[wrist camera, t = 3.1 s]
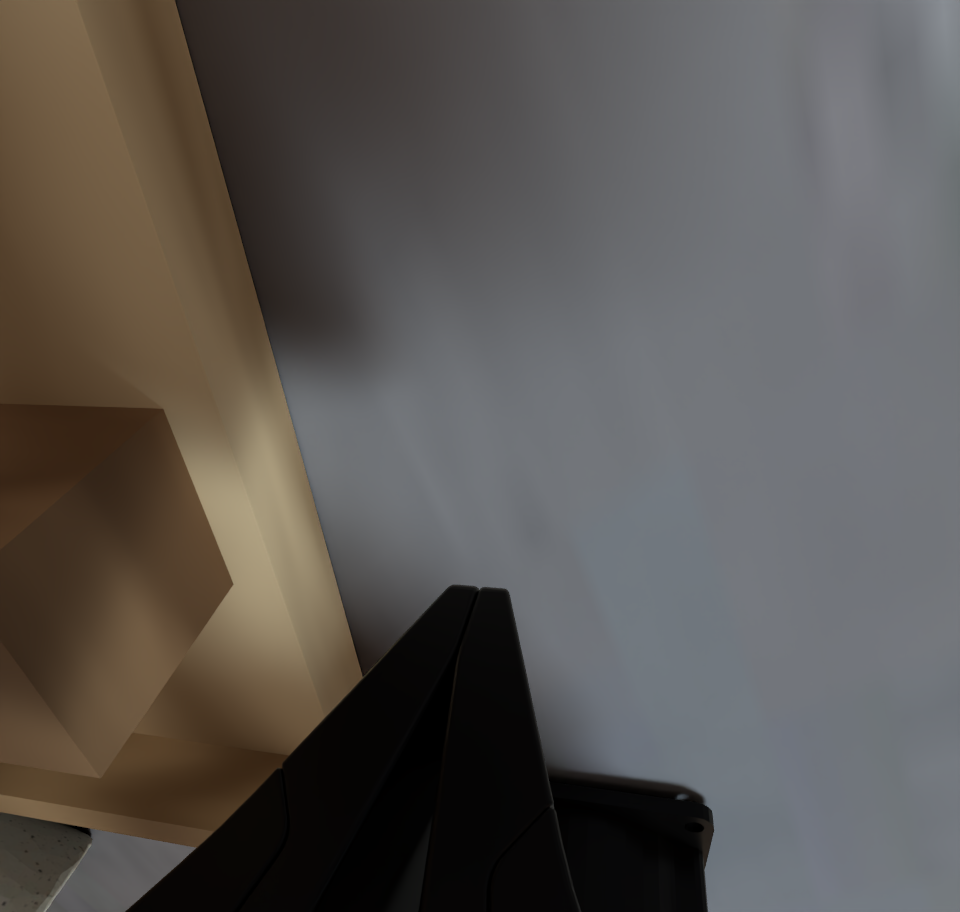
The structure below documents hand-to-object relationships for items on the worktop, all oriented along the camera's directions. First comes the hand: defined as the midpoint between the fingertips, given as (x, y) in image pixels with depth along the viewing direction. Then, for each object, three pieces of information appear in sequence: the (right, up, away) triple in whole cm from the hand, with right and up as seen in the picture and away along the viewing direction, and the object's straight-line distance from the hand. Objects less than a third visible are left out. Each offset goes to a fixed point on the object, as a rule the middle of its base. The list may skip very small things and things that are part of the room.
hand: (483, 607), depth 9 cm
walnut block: (-7, +1, +3) cm, 8 cm away
